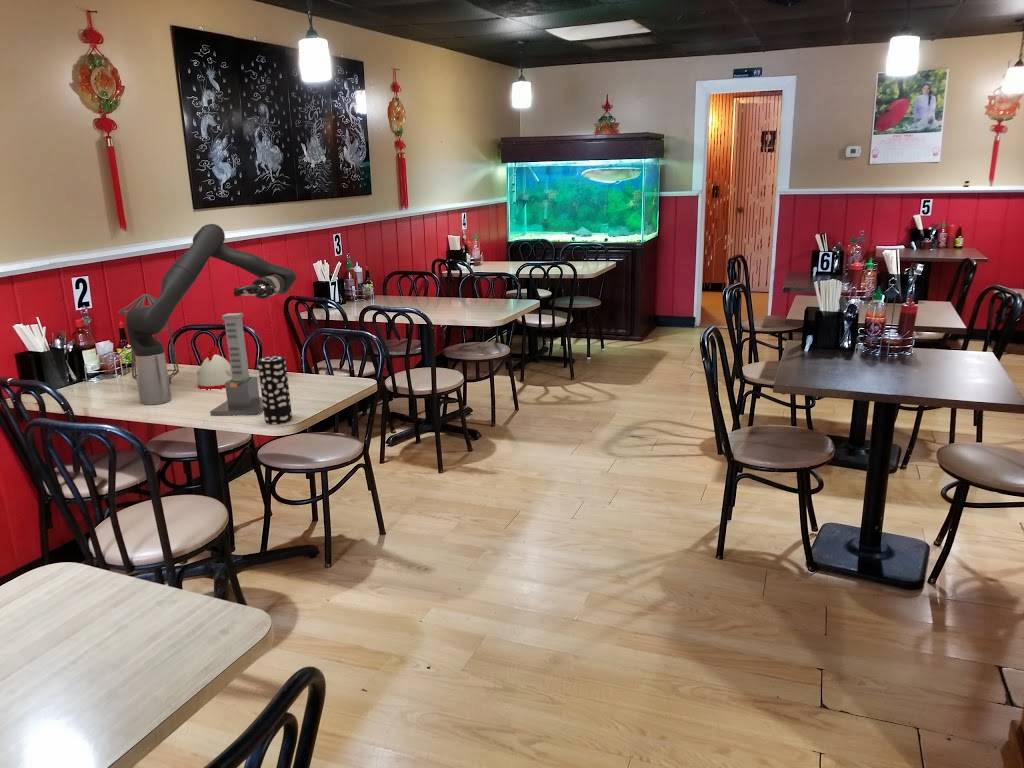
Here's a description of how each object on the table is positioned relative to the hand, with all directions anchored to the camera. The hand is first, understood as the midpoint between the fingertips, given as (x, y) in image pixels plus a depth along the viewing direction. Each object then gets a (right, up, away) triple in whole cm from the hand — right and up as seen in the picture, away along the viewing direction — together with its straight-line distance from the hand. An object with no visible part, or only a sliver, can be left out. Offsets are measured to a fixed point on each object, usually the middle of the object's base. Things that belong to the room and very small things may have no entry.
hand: (246, 293), depth 269 cm
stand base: (+5, -40, -15) cm, 43 cm away
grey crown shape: (-16, -33, +16) cm, 40 cm away
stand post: (+4, -32, -17) cm, 36 cm away
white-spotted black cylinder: (+20, -44, -29) cm, 56 cm away
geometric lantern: (-39, -33, +19) cm, 55 cm away
